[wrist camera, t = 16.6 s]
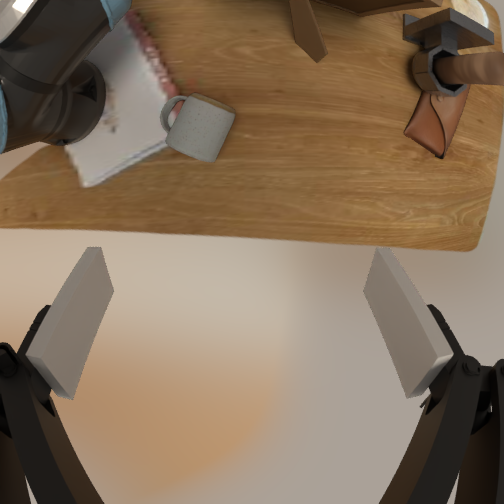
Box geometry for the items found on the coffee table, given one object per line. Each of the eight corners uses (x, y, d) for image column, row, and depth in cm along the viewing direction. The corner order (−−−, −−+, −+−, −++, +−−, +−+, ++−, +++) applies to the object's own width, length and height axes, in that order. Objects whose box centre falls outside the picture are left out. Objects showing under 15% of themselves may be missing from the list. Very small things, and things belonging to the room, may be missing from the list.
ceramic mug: (240, 110, 40) (237, 109, 33) (217, 159, 44) (209, 168, 37) (176, 84, 39) (160, 80, 32) (155, 133, 42) (136, 138, 35)
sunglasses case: (431, 47, 33) (466, 55, 29) (446, 67, 37) (477, 76, 33) (401, 136, 41) (434, 151, 36) (418, 149, 45) (448, 164, 40)
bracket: (439, 100, 38) (492, 105, 25) (399, 87, 37) (449, 84, 25) (442, 30, 31) (492, 18, 19) (403, 14, 31) (448, -8, 19)
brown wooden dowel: (418, 69, 32) (487, 62, 18) (431, 54, 31) (500, 45, 17) (435, 89, 34) (505, 92, 19) (447, 74, 32) (518, 74, 18)
